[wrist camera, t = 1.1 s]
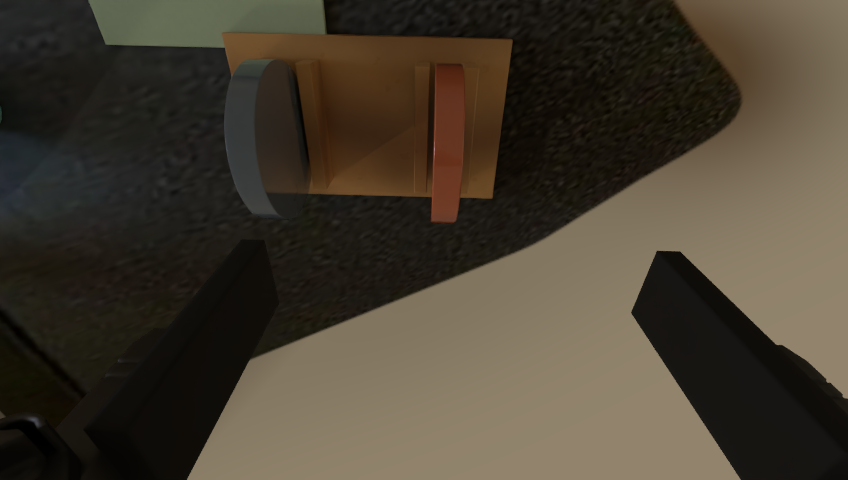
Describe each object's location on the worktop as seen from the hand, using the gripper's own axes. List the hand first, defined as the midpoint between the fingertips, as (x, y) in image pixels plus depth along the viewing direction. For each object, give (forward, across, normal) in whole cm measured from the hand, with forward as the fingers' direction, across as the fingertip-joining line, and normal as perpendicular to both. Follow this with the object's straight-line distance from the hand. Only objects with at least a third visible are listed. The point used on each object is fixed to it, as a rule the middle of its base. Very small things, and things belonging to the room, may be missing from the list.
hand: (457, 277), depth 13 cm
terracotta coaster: (+14, 0, 0) cm, 14 cm away
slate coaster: (+14, -11, 0) cm, 18 cm away
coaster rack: (+20, -6, 0) cm, 21 cm away
